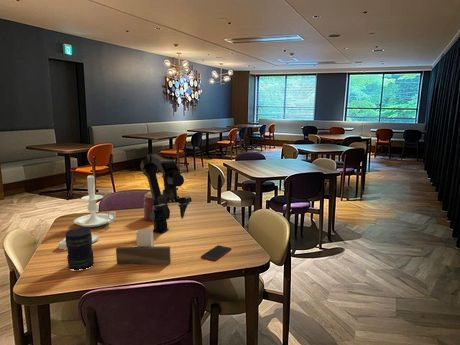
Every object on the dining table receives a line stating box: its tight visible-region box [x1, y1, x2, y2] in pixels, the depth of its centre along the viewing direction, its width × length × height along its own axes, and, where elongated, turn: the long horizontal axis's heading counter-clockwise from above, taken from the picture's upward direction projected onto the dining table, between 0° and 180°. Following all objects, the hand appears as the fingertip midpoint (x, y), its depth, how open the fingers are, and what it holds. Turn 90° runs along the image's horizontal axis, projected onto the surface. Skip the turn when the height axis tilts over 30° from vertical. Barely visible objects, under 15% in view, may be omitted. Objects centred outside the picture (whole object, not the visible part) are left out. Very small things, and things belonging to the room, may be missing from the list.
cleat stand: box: [115, 245, 172, 265], centre depth 153 cm, size 11×22×7 cm, turn 91°
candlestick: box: [73, 174, 117, 228], centre depth 195 cm, size 21×25×28 cm
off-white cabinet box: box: [135, 228, 155, 247], centre depth 153 cm, size 5×6×12 cm
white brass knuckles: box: [58, 233, 100, 250], centre depth 171 cm, size 3×18×15 cm
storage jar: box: [64, 227, 95, 270], centre depth 146 cm, size 10×10×15 cm
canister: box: [142, 191, 163, 222], centre depth 207 cm, size 13×13×18 cm
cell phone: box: [200, 244, 232, 262], centre depth 159 cm, size 8×15×1 cm, turn 150°
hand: (174, 218), depth 171 cm, fingers open, 9 cm apart
